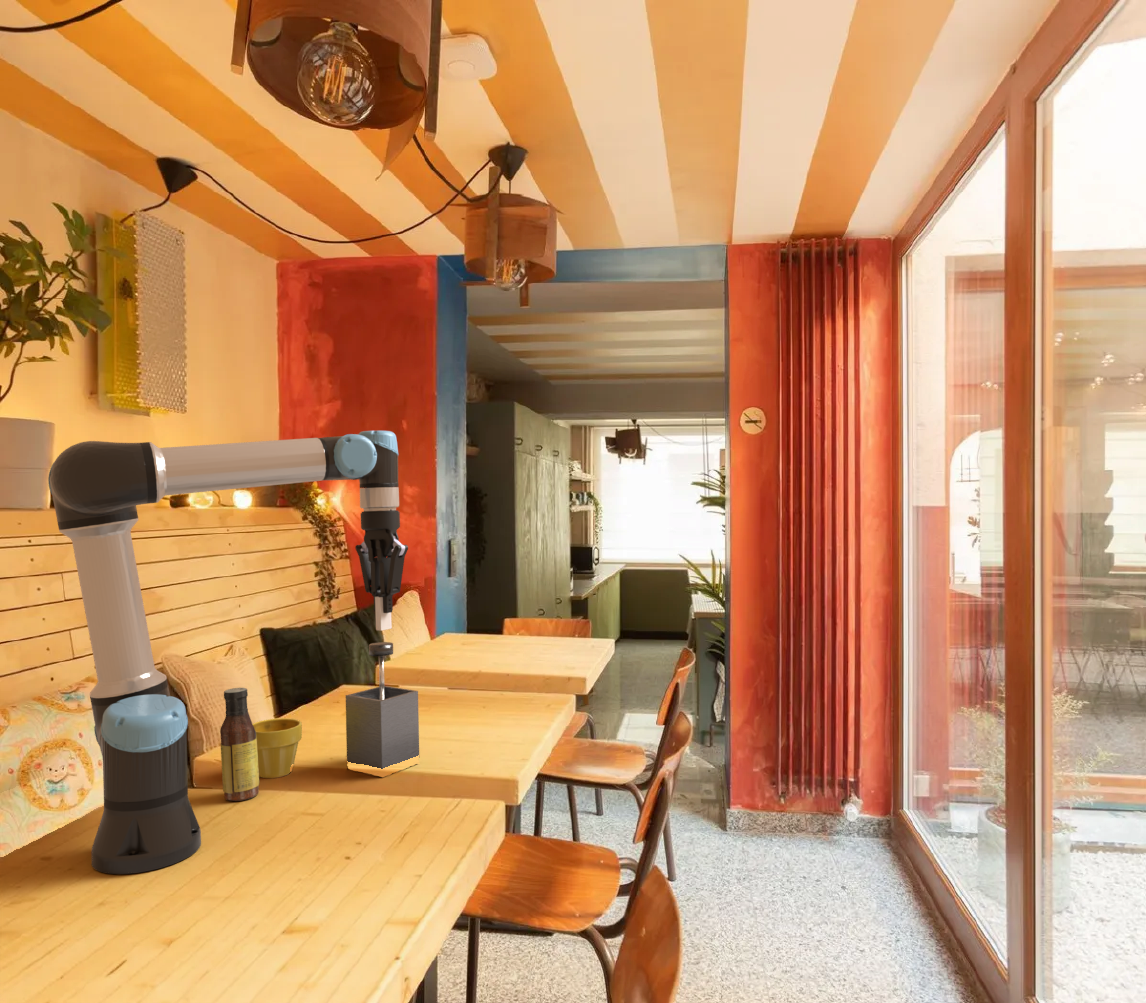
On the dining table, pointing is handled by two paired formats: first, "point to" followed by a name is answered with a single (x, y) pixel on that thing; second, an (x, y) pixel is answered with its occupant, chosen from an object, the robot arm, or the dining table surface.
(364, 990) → the dining table surface
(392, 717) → the dark grey rectangular bin
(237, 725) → the sauce bottle
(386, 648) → the plunger
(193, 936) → the dining table surface
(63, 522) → the robot arm
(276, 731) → the plant pot
